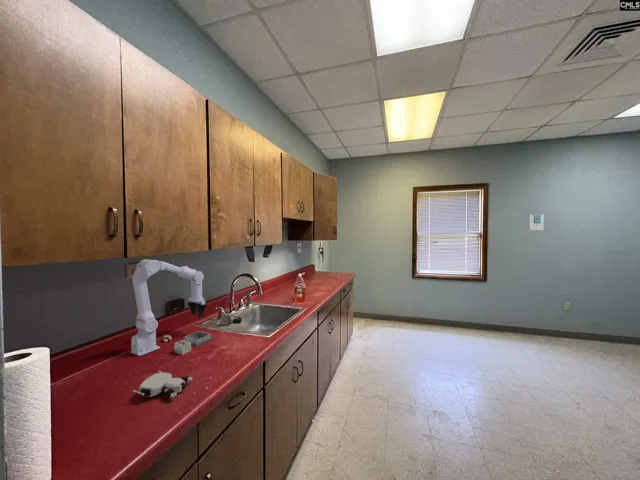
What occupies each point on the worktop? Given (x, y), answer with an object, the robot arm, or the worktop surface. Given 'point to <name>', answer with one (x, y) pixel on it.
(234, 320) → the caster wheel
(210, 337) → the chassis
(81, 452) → the worktop surface
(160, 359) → the worktop surface
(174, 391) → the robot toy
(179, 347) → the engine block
